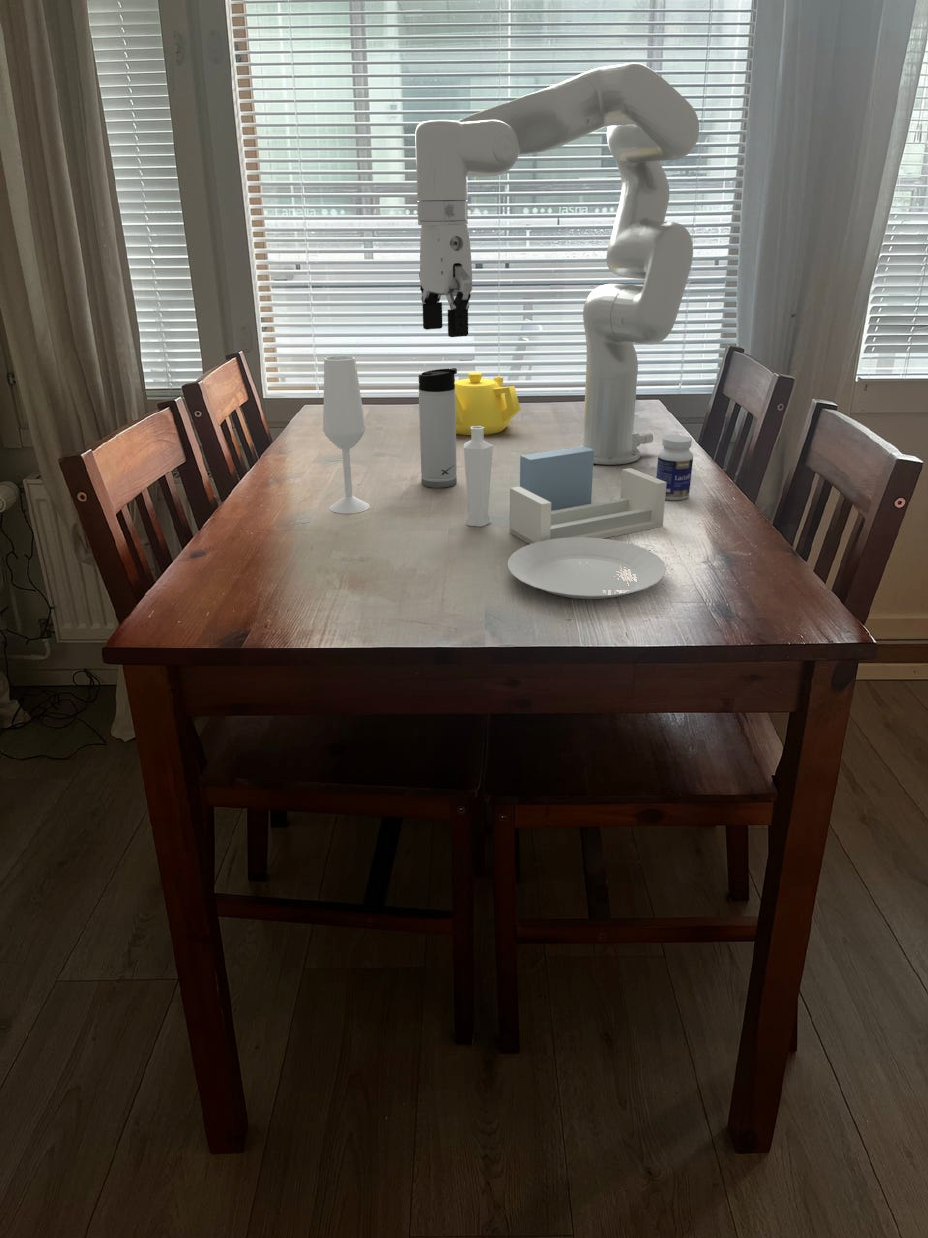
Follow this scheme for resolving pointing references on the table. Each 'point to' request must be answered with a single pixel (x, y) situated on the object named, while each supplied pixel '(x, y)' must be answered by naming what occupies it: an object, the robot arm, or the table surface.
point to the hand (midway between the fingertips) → (445, 332)
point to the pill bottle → (675, 466)
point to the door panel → (559, 476)
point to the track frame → (590, 512)
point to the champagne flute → (343, 420)
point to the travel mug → (438, 428)
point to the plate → (585, 567)
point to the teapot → (484, 404)
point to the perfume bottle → (478, 476)
